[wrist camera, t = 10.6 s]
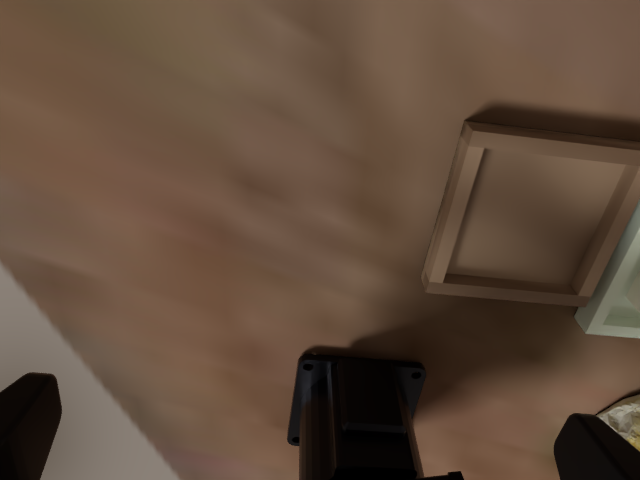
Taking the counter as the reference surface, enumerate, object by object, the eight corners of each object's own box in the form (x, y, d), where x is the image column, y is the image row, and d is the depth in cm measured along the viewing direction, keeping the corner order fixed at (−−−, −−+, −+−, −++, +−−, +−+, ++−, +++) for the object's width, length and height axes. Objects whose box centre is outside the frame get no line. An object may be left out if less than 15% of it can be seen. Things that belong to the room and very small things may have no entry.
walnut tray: (573, 291, 24) (585, 307, 23) (420, 277, 24) (425, 292, 22) (644, 142, 20) (662, 153, 19) (464, 120, 20) (473, 130, 19)
